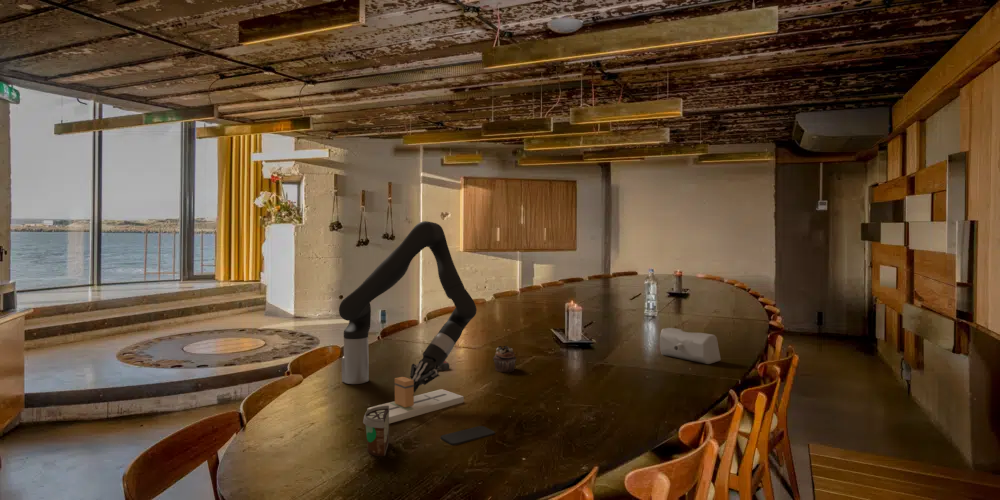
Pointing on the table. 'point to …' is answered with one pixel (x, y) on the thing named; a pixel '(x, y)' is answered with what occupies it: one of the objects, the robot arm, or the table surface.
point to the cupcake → (504, 359)
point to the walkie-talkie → (443, 366)
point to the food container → (377, 430)
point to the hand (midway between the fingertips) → (409, 392)
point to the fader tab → (404, 391)
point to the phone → (467, 435)
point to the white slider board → (422, 404)
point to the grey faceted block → (689, 346)
